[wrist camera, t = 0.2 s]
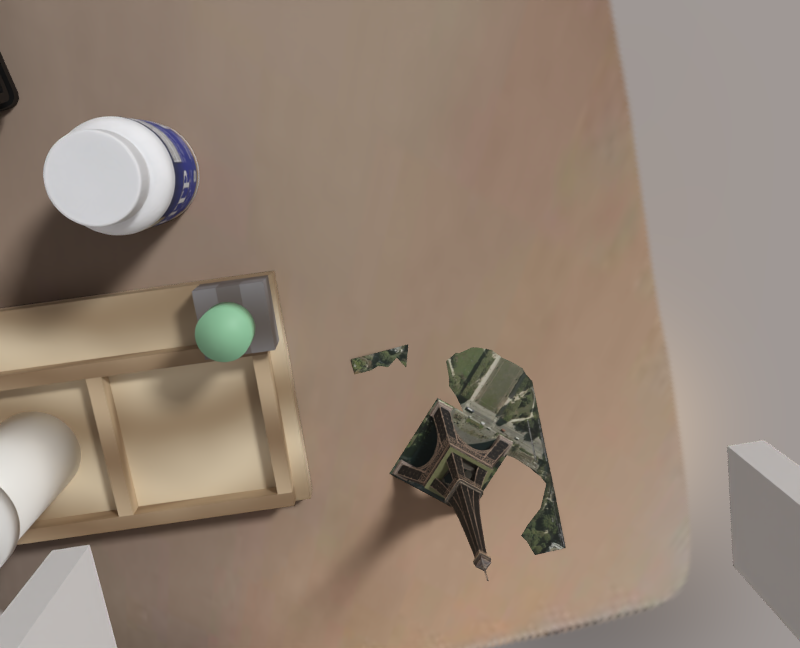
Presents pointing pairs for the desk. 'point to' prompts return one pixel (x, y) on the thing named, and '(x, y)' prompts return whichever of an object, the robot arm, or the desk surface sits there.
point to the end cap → (7, 88)
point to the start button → (225, 332)
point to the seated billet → (32, 471)
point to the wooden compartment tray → (158, 405)
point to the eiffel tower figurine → (477, 443)
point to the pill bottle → (121, 175)
